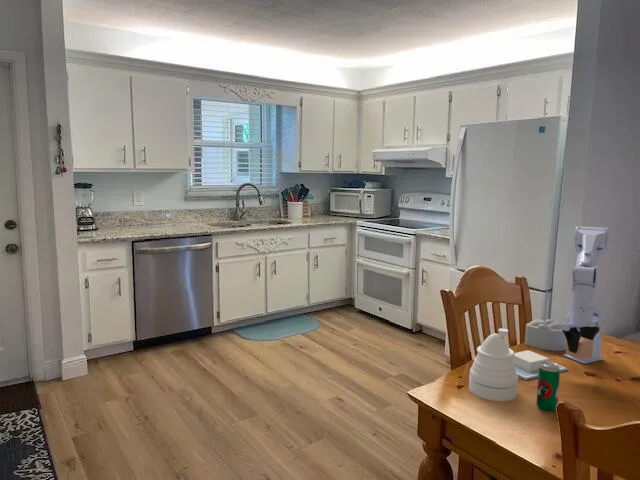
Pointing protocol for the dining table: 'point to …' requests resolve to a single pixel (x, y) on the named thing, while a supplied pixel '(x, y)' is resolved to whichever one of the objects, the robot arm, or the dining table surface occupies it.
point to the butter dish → (530, 364)
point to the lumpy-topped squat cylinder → (545, 335)
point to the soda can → (548, 386)
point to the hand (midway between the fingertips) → (579, 350)
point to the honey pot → (494, 370)
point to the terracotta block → (582, 349)
